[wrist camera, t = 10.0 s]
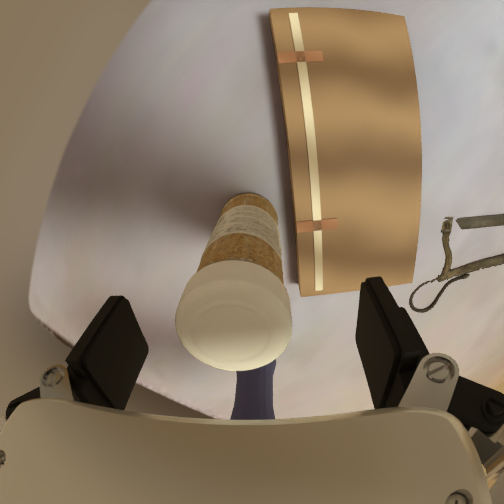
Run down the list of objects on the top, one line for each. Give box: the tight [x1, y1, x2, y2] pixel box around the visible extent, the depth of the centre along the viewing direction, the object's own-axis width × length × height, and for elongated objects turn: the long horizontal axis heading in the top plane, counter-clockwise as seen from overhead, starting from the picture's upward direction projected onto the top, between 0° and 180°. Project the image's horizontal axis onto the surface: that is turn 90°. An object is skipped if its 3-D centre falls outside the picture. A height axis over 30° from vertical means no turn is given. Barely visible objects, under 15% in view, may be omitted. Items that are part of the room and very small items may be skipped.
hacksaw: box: [409, 215, 504, 313], centre depth 23 cm, size 24×10×2 cm, turn 98°
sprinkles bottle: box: [175, 193, 292, 371], centre depth 17 cm, size 5×5×14 cm
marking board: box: [269, 7, 422, 297], centre depth 19 cm, size 22×10×2 cm, turn 7°
